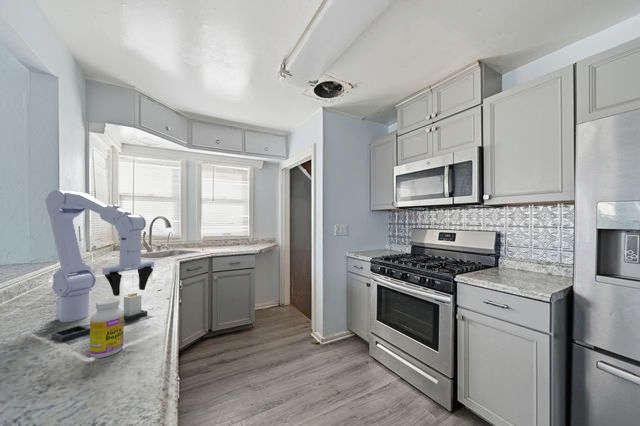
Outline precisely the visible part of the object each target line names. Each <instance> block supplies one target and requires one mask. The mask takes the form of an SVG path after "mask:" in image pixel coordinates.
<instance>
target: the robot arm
mask: <svg viewBox="0 0 640 426" xmlns="http://www.w3.org/2000/svg"><path fill="white" fill-rule="evenodd" d="M44 201H45V206H46V209H47V213H48V214H47V215H48V216H49V220H50V225H51V230H52V234H53V237H54V242H55V247H56V250H57V256H58V260H59V264H60V268H58V270H57V271H55V273H53V274H52V279H53V281H52V290H53V292H54V293H55V294H56V296H57V297H58V298H57V299H56V300H55V318H53V319H51V322H53V321H59V322H61V323H69V322H74V321H79V320H83V319H85V318H87V317H89V316H90V312H89V311H90V292H91V291H92V288H94V287H95V285H96V282H97V278H96V275H95V273H94V272H93V271H92V267H91V266H89V265H88V264H85V263H84V262H83V260H82V255H81V251H80V246H79V242H78V237H77V234H76V230H75V229H76V228H75V226H74V221H73V220H74V219H75V218H77V217H79V216H80V215H81V214H82V213H83V212H85V211H86V210H89V211H91V212H94V213H96V214H99V217H100V219H101V220H102V221H104V222H107V223H109V224H110V225H112V226H115V229H116V231H117V236H118V238H119V264H117V265H116V264H115V265H112V266H107V267H102V269H101V270H102V271H101V272H102V275H104V277H105V278H106V280H107V281H108V283H109V284H110V288H111V290H112V295H113V296H114V297H115V296H116V297H119V296H120V292H121V290H120V289H121V281H122V276H123V275H122V274H120V273H121V272H128V271H133V270H137V274H138V289H139V290H140V291H145V289H146V286H147V283H148V281H149V278H150V276H151V275H152V273H153V271H154V267H155V261H152V260H151V261H150V260H148V261H142V259H141V258H142V252H141V251H142V231H144V230H145V228H146V225H147V222H146V219H145V218H144V217H143V215H141V214H134V215H133V213H131V211H129V210H124V209H122V208H121V206H120V205H118V204H109V205H107V204H105V203H103V202H102V201H100V200H98V199H96V198H94V197H93V196H92V194H88V193H86V192H79V191H78V192H77V191H67V190H60V189H52V190H51V191H49V194H47V196H46V198H45V199H44Z"/></svg>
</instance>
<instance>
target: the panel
mask: <svg viewBox="0 0 640 426" xmlns="http://www.w3.org/2000/svg"><path fill="white" fill-rule="evenodd" d="M154 317H155V316H153V315H149V314H148V310H143V309H141V313H138V314H135V315H132V316H125V315H124V327H127V326H130V325H133V324H136V323H140V322H143V321H146V320H149V319H152V318H154ZM46 336H47V337H50V338H52V339H54V340H57V341H59V342H61V343H63V344H64V343H65V344H67V345H69V346H70V345H73V344H76V343H79V342H82V341H84V340H88V339H90V321H89V322H85V323H82V324H79V325H75V326H72V327H69V328H65V329H62V330H57V331H55V332H51V333H48V334H46Z"/></svg>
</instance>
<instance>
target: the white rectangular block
mask: <svg viewBox="0 0 640 426" xmlns="http://www.w3.org/2000/svg"><path fill="white" fill-rule="evenodd" d="M141 310H142V294H139V293H138V292H133V293H129V294H127V295H125V296H123V311H124V315H125V316H132V315H135V314H138V313H141Z"/></svg>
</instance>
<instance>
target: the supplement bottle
mask: <svg viewBox="0 0 640 426" xmlns="http://www.w3.org/2000/svg"><path fill="white" fill-rule="evenodd" d="M120 304H121V303H120V298H109V299H103V300H99V301H97V302H96V303H95V309H96V312H94V313H93V314H92V315H91V316H90V319H89V320H90V321H89V322H90V338H89V355H90V356H91V358H93V359H101V358H106V357H110V356H113V355H115V354H117V353H119V352H120V351H121V350H122V349H123V348H124V327H125V326H124V309H122V308H119V306H120Z"/></svg>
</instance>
